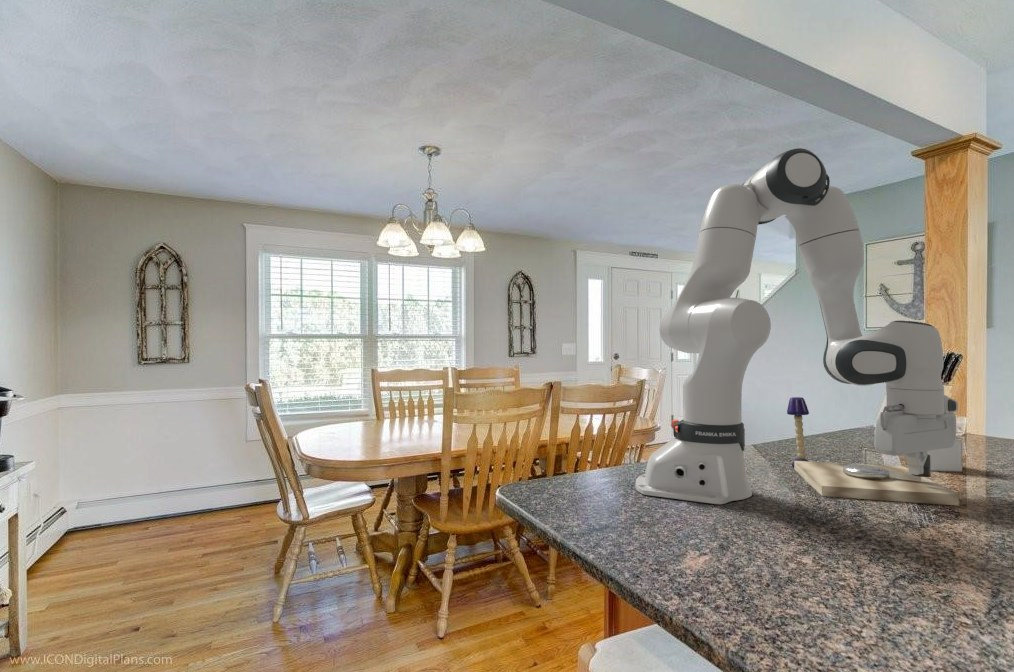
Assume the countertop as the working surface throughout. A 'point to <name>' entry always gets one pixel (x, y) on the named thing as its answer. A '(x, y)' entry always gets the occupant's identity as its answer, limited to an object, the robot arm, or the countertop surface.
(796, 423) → the toy lamp
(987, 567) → the countertop surface
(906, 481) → the birch stand
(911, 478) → the silver disc with handle
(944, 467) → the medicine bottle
